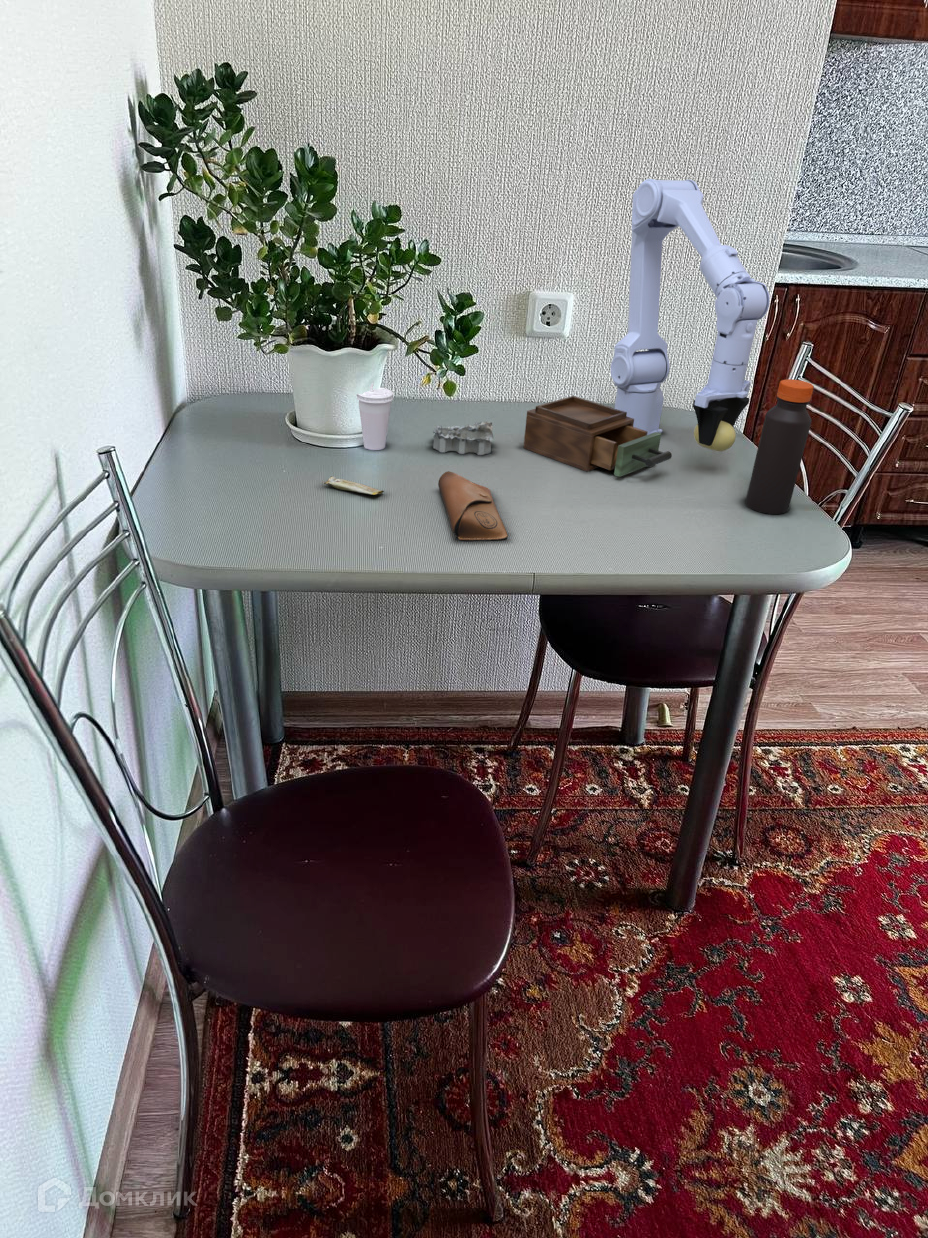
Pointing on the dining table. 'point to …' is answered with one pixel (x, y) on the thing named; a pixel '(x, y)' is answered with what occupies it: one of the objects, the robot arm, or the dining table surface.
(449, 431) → the egg carton
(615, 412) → the brown wooden tray
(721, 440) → the pale yellow lobed ovoid
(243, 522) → the dining table surface
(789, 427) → the bottle
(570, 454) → the cabinet
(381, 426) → the smoothie
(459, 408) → the dining table surface
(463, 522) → the sunglasses case
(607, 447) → the drawer
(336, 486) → the snack bar
